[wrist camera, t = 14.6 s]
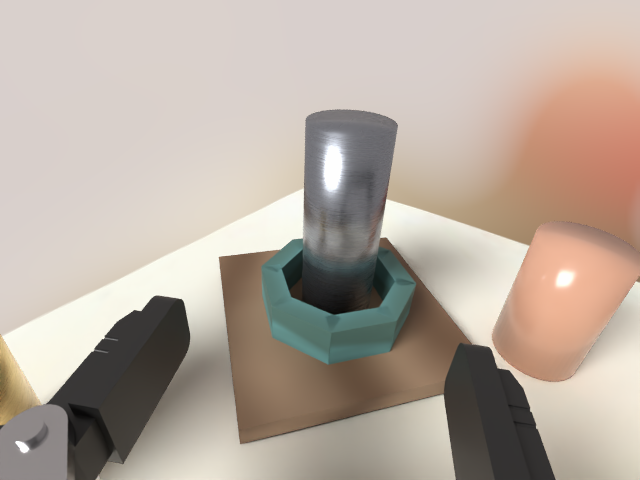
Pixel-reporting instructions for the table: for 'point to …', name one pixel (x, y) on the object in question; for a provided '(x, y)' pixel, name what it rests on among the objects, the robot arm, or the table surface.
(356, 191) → the steel peg
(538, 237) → the terracotta peg
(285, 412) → the ring board
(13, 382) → the brass peg
